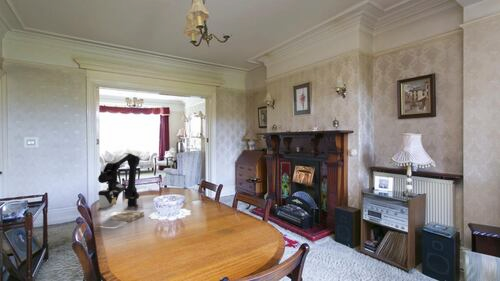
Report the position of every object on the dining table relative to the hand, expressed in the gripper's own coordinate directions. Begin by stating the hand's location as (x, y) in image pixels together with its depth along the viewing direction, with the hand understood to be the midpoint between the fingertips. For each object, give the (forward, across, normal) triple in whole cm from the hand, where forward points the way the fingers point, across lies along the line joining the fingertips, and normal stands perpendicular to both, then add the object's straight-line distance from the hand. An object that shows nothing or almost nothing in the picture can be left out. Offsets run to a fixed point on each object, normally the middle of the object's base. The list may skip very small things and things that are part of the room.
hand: (113, 202), depth 171 cm
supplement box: (+9, +17, +23) cm, 30 cm away
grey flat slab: (+9, 0, 0) cm, 9 cm away
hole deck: (+9, -2, -14) cm, 17 cm away
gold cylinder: (+1, 0, 0) cm, 1 cm away
